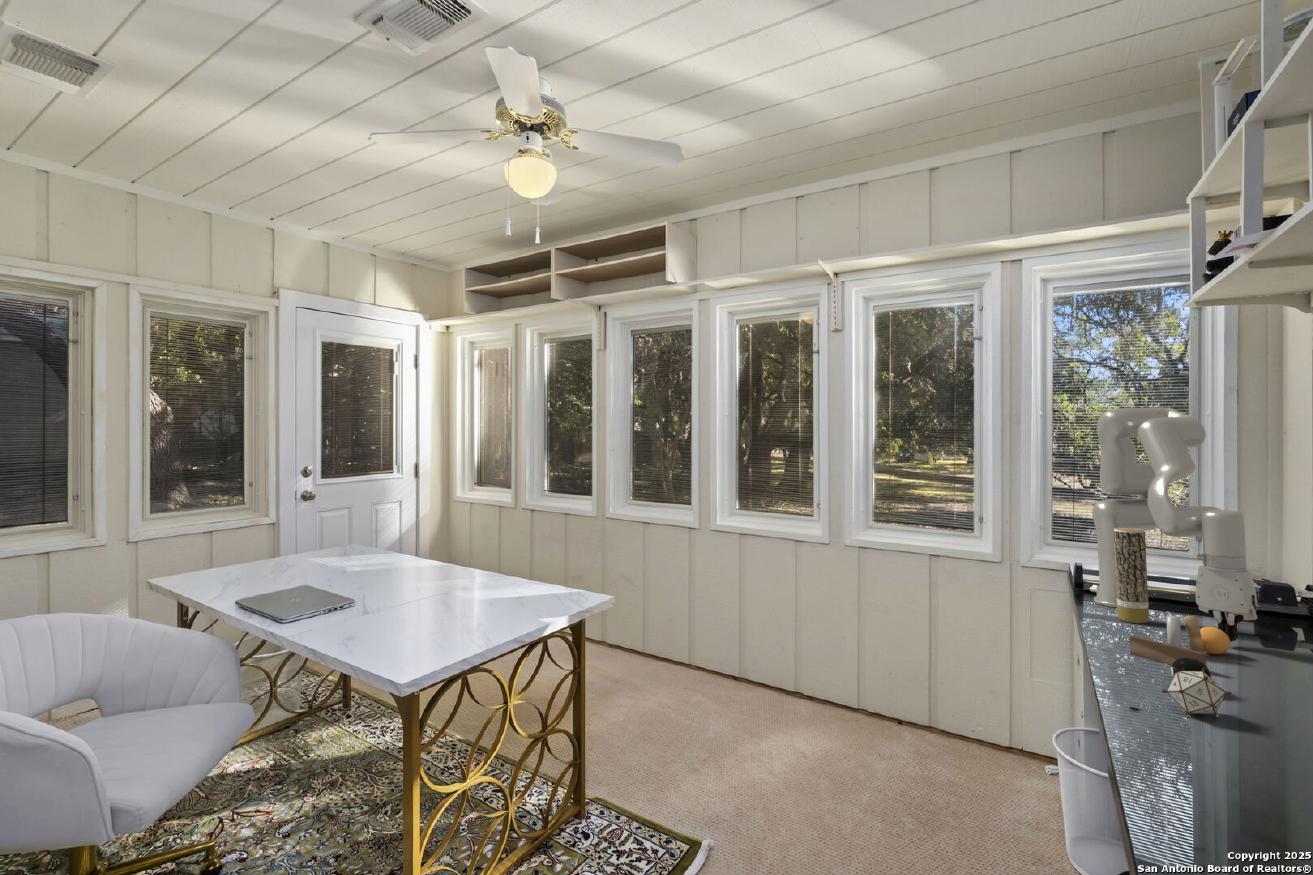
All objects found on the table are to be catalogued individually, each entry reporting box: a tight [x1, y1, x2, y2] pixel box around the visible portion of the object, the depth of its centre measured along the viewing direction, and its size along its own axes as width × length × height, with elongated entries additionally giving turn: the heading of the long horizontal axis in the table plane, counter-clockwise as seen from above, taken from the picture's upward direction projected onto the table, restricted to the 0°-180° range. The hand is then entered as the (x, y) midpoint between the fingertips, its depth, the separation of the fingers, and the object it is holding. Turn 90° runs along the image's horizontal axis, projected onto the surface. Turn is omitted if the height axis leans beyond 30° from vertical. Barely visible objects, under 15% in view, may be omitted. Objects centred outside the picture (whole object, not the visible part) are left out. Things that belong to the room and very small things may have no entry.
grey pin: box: [1166, 615, 1182, 647], centre depth 142 cm, size 2×2×8 cm
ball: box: [1200, 626, 1231, 655], centre depth 141 cm, size 6×6×6 cm
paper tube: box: [1114, 528, 1150, 624], centre depth 168 cm, size 7×7×25 cm
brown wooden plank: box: [1129, 635, 1208, 667], centre depth 136 cm, size 2×14×4 cm, turn 23°
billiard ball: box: [1170, 658, 1212, 679], centre depth 122 cm, size 6×6×6 cm
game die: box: [1160, 667, 1233, 716], centre depth 111 cm, size 9×8×10 cm
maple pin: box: [1183, 615, 1206, 653], centre depth 141 cm, size 2×2×8 cm
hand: (1228, 640), depth 146 cm, fingers closed
